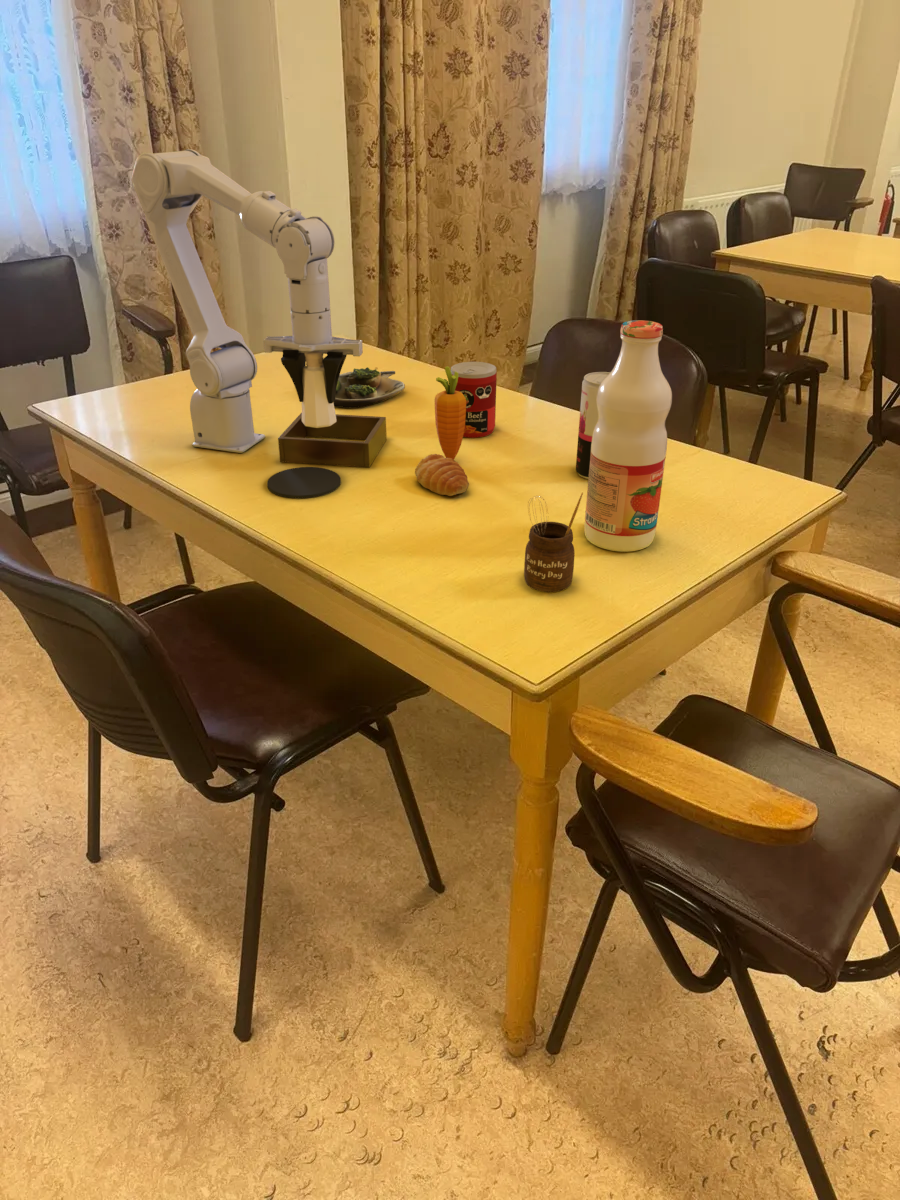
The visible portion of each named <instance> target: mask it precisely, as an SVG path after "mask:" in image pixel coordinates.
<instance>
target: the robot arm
mask: <svg viewBox="0 0 900 1200" xmlns="http://www.w3.org/2000/svg"><path fill="white" fill-rule="evenodd" d="M130 181H131V184H132V186H133V189H134V191H135V193H136V195H137V198H138V201H139V203H140V205H141V208H142V210H143V213H144V217H145V221H146V224H147V227H148V230H149V232H150V234H151V237H152V239H153V242H154V244H155V246H156V247H155V248H156V249H157V252H158V254H159V256H160V259H161V261H162V263H163V266H164V269H165V271H166V274H167V276H168V279H169V281H170V284H171V286H172V289H173V290H174V293H175V296H176V298H177V300H178V302H179V305H180V307H181V310H182V312H183V314H184V317H185V319H186V322H187V325H188V327H189V330H190V331H191V334H192V339H191V341H190V342H189V344H188V347H187V348H186V351H185V356H186V358H187V361H188V364H189V374H190V378H191V381H192V383H193V385H194V387H195V388H196V390H194V392H193V393H192V395H191V398H190V401H189V402H190V403H189V411H190V418H191V423H192V424H191V425H192V432H193V438H194V442H192V447H196V448H201V449H209V450H217V451H224V452H231V453H239V454H242V453H245V452H246V451H247V450H249V449H250V448H252V447H253V446H255V445H256V444H258V443H259V442H261V441H262V440H263V439H265V438H266V435H265V434H263V433H256V432H255V427H254V417H253V408H252V400H251V399H252V398H251V392H250V388H253V383H252V381H253V380H254V379H255V378H256V376H257V373H258V362H257V359H256V355H254V353H253V351H252V350H251V349H250V347H249V346H248V345H247V343H246V341H245V339H244V337H243V334H242V333H240V332H238V331H237V330H236V329H233V328H232V327H230V326H228V325H227V324H226V322H225V318H224V316H223V314H222V313H223V312H222V311H221V309H220V306H219V304H218V301H217V299H216V296H215V293H214V291H213V289H212V286H211V283H210V281H209V279H208V276H207V273H206V270H205V268H204V265H203V263H202V260H201V259H200V255H199V252H198V251H197V248H196V245H195V244H194V240H193V239H192V236H191V233H190V230H189V228H188V226H187V223H188V220H189V217H190V214H191V213H192V212H193V211H194V210H195V208H196V206H197V205H198V203H199V202H200V201H201V199H202V197H205V198H207V199H208V200H210V201H211V202H214V203H215V204H217V205H220V206H221V207H223V208H225V209H226V210H229V211H230V212H232V213H234V214H236V215H238V216H239V217H240V221H241V224H242V227H243V228H244V229H245V230H246V231H247V232H250V233H251V234H253V236H256V237H257V238H259V239H261V240H262V241H264V242H265V243H267V244H268V245H270V246H272V248H274V249H275V250H276V253H277V255H278V257H279V259H280V261H281V262H282V263H283V271H284V274H285V275H286V278H287V286H288V287H287V288H288V297H289V309H290V321H291V332H292V335H279V336H278V335H277V336H269V335H268V336H266V337H264V339H263V340H262V342H263V350H264V353H266V354H272V353H274V352H275V353H282V356H281V358H280V362H281V365H282V366H283V367H284V369H285V370H286V372H287V374H288V375H289V377H290V379H291V381H292V383H293V386H294V388H295V392H296V394H297V397H298V401H299V403H302V402H303V401H304V399H303V382H302V374H303V368H304V367H305V366H306V360H305V358H306V357H305V351H307V352H311V351H317V352H322V354H323V355H326V356H325V357H323V360H322V361H323V366H324V371H325V377H326V391H327V400H328V403H333V402H334V401H335V395H336V388H337V383H338V379H339V375H340V374H341V373H342V369H343V366H344V364H345V361H346V359H347V356H353V357H358V358H359V357H361V356H362V355H363V354H364V353H363V352H364V350H363V340H362V339H352V338H346V337H338V336H333V331H332V316H331V315H332V313H331V301H330V285H329V284H330V283H329V269H328V268H329V267H328V258H330V257H331V256H332V255H333V252H334V249H335V236H334V232H333V230H332V228H331V227H330V225H329V224H328V223H327V222H326V221H324V219H323V218H322V217H321V216H318V215H314V216H313V215H312V216H309V217H306V216H304V215H302V212H301V210H299V209H297V208H291V207H290V206H288V205H286V204H285V203H283V202H282V201H280V200H278V199H277V198H276V196H277V195H276V193H274V192H273V191H271V190H258V191H255V192H253V193H251V192H250V191H249V190H247V189H246V188H244V187H243V186H242V185H240V184H239V183H237V181H235V180H233V178H231V177H229V176H228V175H227V174H225V173H223V171H222V170H220V169H218V168H217V167H216V166H214V165H213V164H212V161H211V159H210V158H209V157H208V156H205V155H202V154H201V153H200V152H198V151H197V150H195V149H191V148H187V149H184V150H178V151H166V152H154V153H152V152H143V153H141V154H139V155H138V156H137V158H136V160H135V162H134V166H133V169H132V174H131V178H130ZM214 349H217V350H214ZM212 350H213V351H212ZM211 351H212V352H211Z"/></svg>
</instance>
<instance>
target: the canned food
mask: <svg viewBox="0 0 900 1200" xmlns="http://www.w3.org/2000/svg"><path fill="white" fill-rule="evenodd" d="M450 370H451V373H452V376H453V375H454V374H455V372H457V373H459V374H458V382H457V385H456V388H455V391H459V392H461V393H462V394H463V395H464V397H465V399H466V418H465V429H464V434H463V438H466V439H467V438H468V439H471V438H472V439H476V438H484V437H487V436H490V435H491V434H492V433H493V432H494V430H495V428H496V410H497V409H496V407H497V406H496V405H497V382H498V381H497V378H498V377H497V376H498V374H497V372H498V371H497V366H496V365H494V364H492V363H489V362H484V361H463V362H459V363H456V364H454V365H452V366H451V367H450Z"/></svg>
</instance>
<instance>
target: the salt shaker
mask: <svg viewBox="0 0 900 1200" xmlns="http://www.w3.org/2000/svg"><path fill="white" fill-rule="evenodd" d="M305 357H306V358H305V360H306V366H305V367H304V368H303V374H302V382H303V399H304V401H303V402H301V413H302V422H303V424H304V425H305V426H308V427H314V428H320V427H328V426H331V425H332V424H334V423H336V421H337V420H336V414H337V413H336V410H335V406H334V402H333V403H328V400H327V391H326V377H325V371H324V366H323V361H322V360H323V359H324V354H322V352H317V351H311V352H307V351H305Z"/></svg>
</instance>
